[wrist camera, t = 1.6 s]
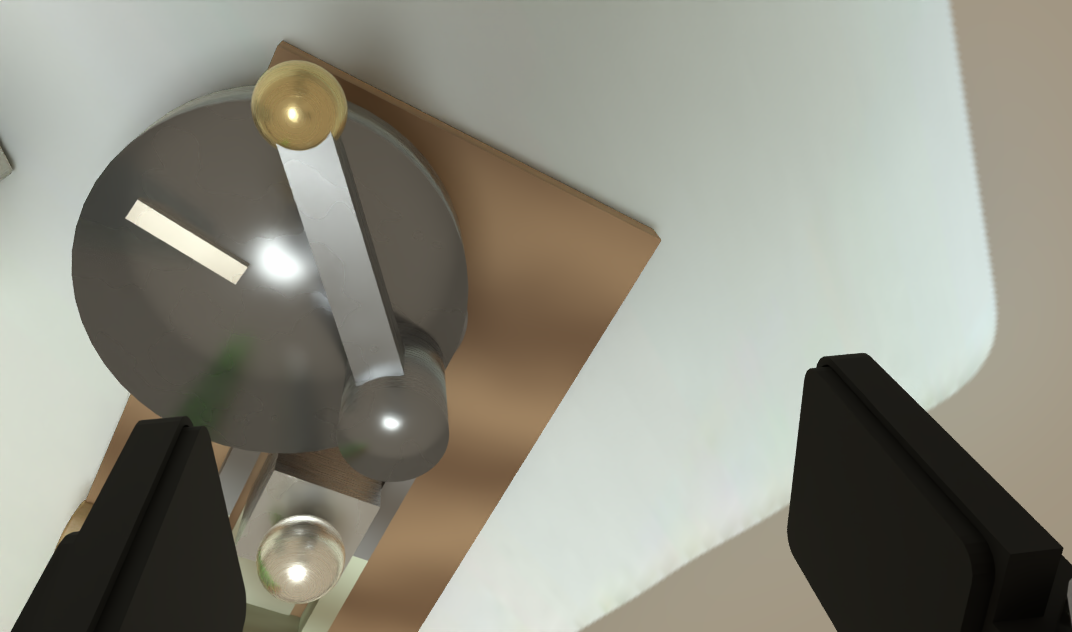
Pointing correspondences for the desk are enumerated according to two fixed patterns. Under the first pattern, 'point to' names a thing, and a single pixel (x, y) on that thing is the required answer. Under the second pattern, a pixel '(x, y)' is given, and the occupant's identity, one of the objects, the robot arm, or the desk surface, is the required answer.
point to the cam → (279, 275)
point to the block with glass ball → (305, 522)
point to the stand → (460, 371)
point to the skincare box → (4, 165)
